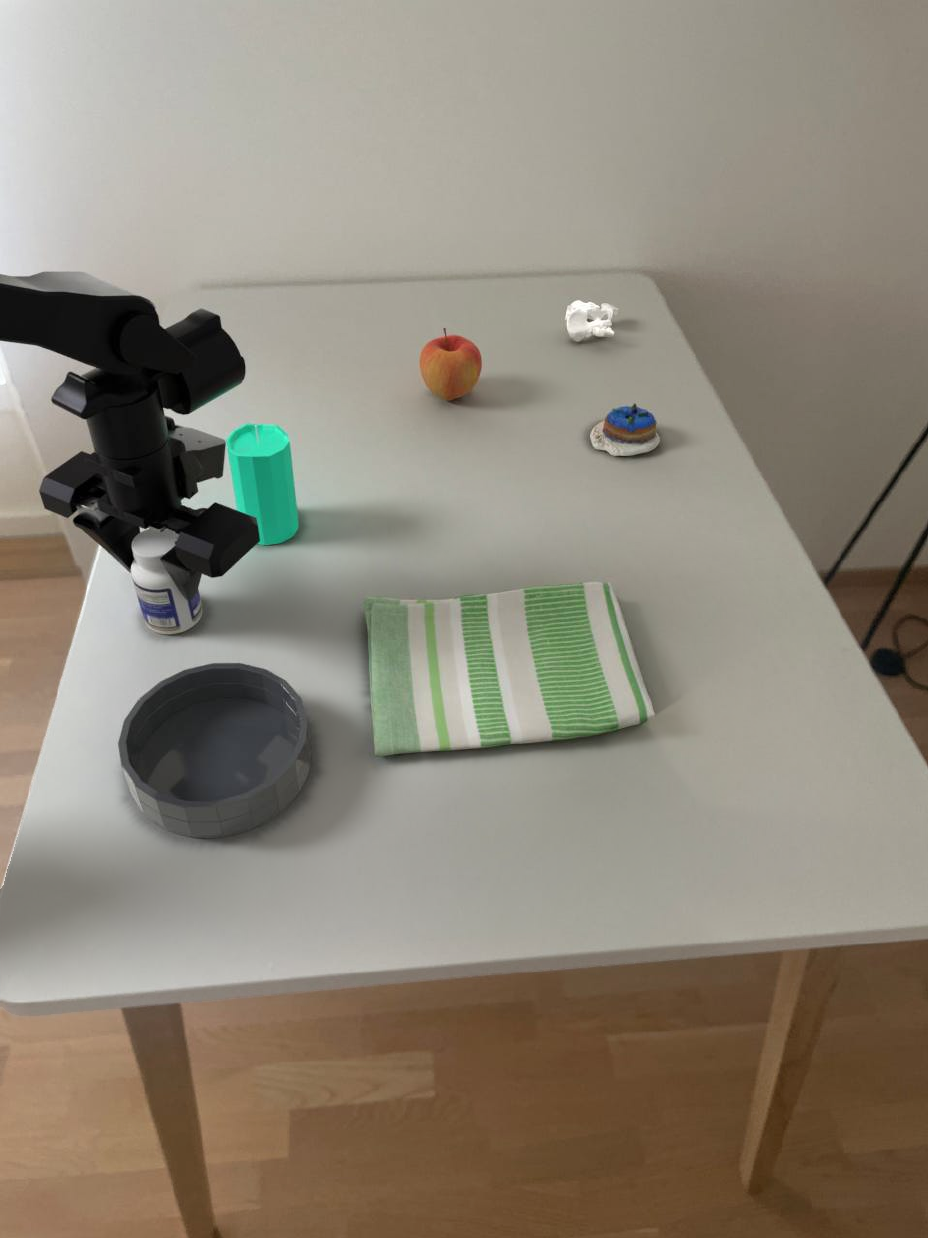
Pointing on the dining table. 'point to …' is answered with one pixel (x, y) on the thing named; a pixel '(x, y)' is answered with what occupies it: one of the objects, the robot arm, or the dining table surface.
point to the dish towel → (501, 669)
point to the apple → (450, 366)
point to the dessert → (626, 432)
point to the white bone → (582, 311)
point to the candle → (264, 479)
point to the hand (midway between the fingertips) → (166, 586)
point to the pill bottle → (160, 585)
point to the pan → (216, 749)
